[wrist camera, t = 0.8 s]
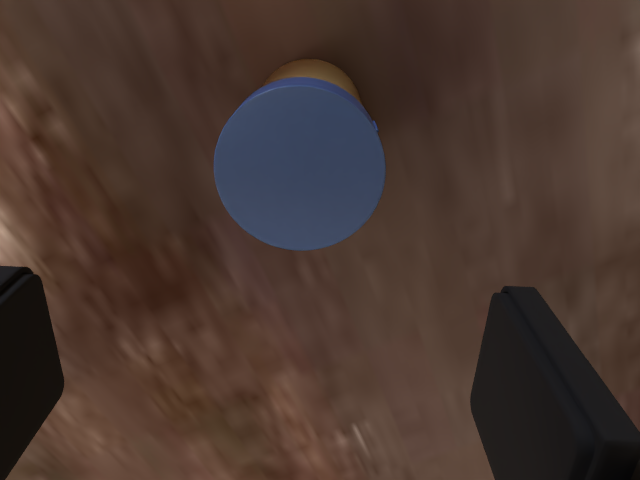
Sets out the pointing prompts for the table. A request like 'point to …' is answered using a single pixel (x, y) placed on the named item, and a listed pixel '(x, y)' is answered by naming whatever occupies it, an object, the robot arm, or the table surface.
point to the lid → (300, 164)
